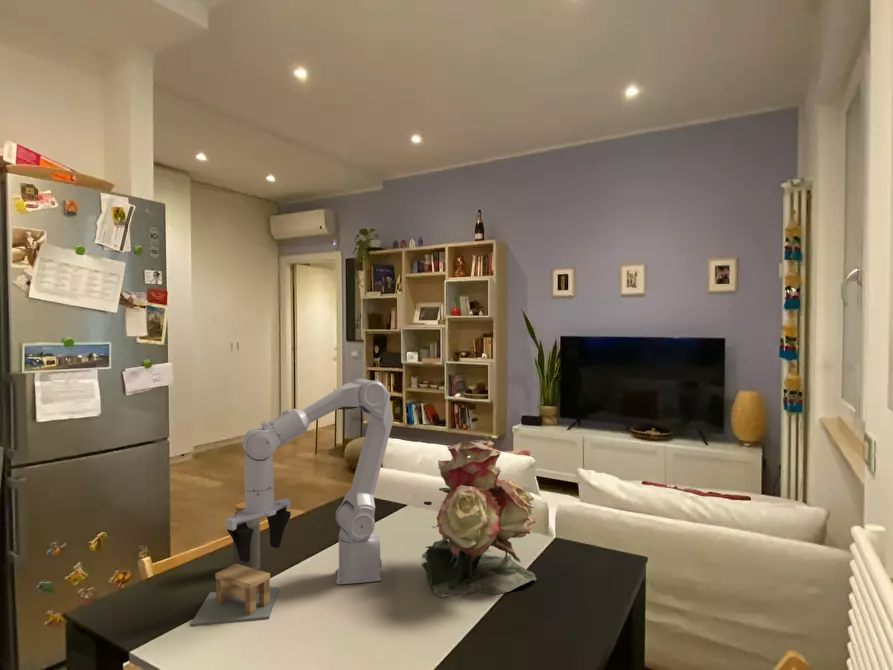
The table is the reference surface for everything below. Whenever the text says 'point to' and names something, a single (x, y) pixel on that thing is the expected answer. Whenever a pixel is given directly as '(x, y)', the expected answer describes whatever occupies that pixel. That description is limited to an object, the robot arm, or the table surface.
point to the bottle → (254, 545)
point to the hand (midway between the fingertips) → (260, 553)
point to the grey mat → (232, 610)
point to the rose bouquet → (477, 525)
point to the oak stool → (243, 586)
